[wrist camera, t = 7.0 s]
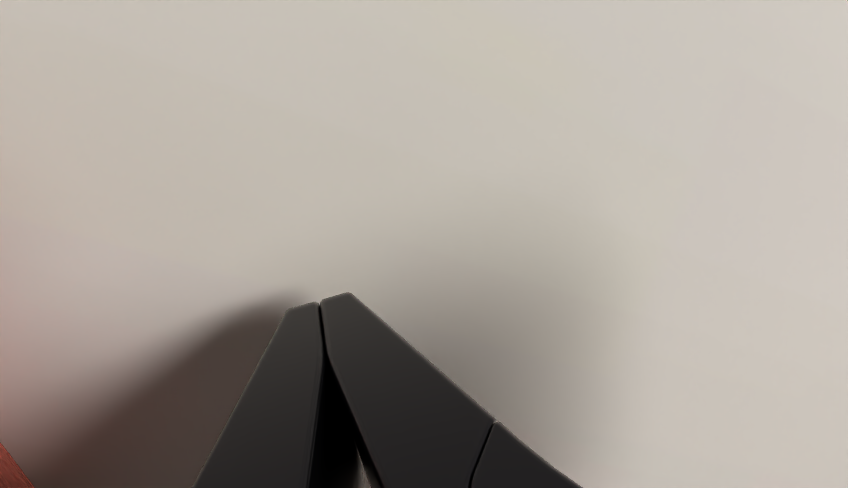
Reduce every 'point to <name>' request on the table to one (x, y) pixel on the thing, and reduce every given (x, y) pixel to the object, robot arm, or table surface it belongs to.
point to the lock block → (11, 472)
